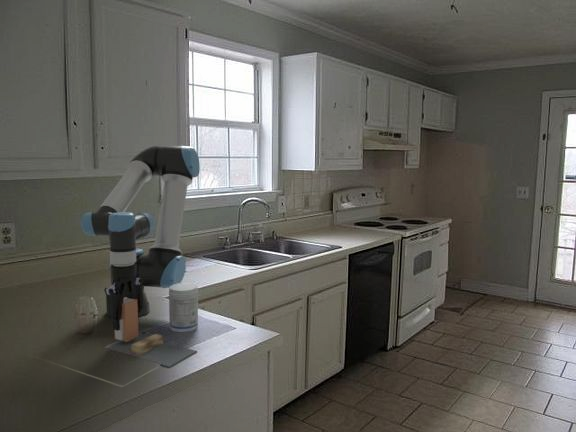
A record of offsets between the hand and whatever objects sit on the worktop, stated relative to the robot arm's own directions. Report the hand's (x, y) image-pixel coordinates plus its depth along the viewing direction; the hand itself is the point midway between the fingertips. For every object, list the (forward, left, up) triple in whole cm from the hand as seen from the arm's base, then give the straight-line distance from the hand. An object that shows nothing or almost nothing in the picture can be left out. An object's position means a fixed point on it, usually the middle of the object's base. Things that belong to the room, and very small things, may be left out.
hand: (126, 335), depth 150 cm
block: (0, 0, -1) cm, 1 cm away
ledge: (+1, +9, -2) cm, 9 cm away
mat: (+1, +10, -2) cm, 10 cm away
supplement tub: (-18, +7, -3) cm, 20 cm away
